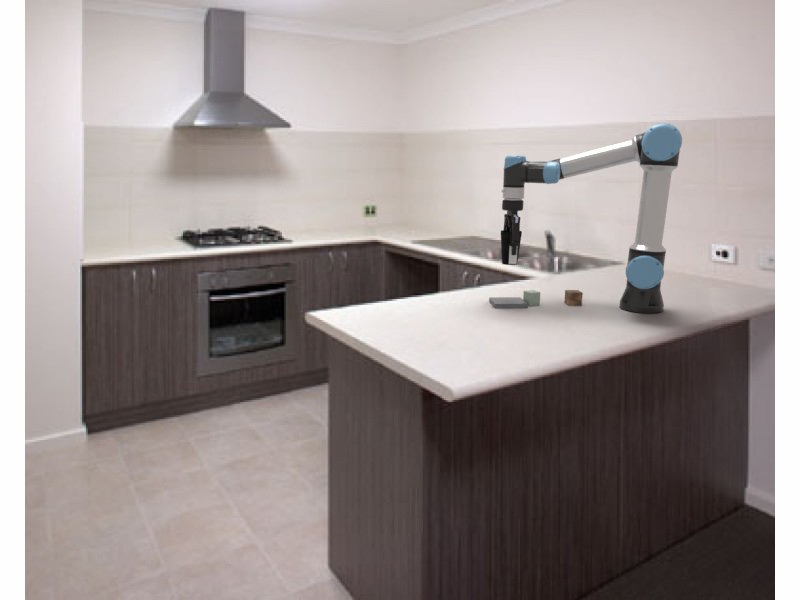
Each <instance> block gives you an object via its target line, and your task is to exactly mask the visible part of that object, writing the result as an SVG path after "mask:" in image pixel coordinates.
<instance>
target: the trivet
mask: <svg viewBox="0 0 800 600" xmlns="http://www.w3.org/2000/svg"><path fill="white" fill-rule="evenodd" d="M488 298H489V299H488V302H489V303H490V304H491V305H492V306H493V308H494V309H528V307H529V306H528V303H527V302H525V301H524V300H523V297H521V296H518V297H517V296H515V297H514V296H512V297H510V296H509V297H508V296H507V297H506V296H505V297H504V296H503V297H502V296H501V297H500V296H499V297H495V296H494V297H491V296H490V297H488Z"/></svg>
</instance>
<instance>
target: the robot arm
mask: <svg viewBox="0 0 800 600" xmlns="http://www.w3.org/2000/svg"><path fill="white" fill-rule="evenodd" d="M682 144H683V137H682V134H681V131H680V130H679V128H677V126H675V125H673V124H671V123H666V122H662V123H656V124H653V125H651V126H650V127H649V128H647V130H646V131H645V132H643V133H640V134H637V135H634V136H633V137H632V138H631V139H628V140H624V141H620V142H617V143H614V144H610V145H605V146H602V147H598V148H594V149H590V150H587V151H583V152H578V153H575V154H572V155H568V156H564V157H560V158H556V159H552V160H548V161H530V160H527V157H526V156H525V155H507V156H505V158H504V165H503V180H502V181H503V186H502V189H501V193H502V198H503V200H502V204H501V205H502V206H501V209H502V211H506V213H505V214H504V219H503V222H504V223H503V230H506V232H511V234H510V242H511V244H509V246H510V248H509V264H516V265H518V262H517V247H518V245H519V244H520V245H521V242H520V231H521V230H520V228H521V216H519V212H520V211H521V212H522V211H523V210H524V200H523V199H524V198H525V184H529V183H530V184H547V185H551V184H558V183H559V181H560V180H564V179H567V178H572V177H575V176H579V175H584V174H588V173H593V172H596V171H600V170H604V169H608V168H612V167H616V166H620V165H625V164H629V163H632V162H633V163H634V162H637V163H639V167H641V169H642V170H643V175H642V184H641V192H640V200H639V208H638V214H637V222H636V223H637V224H636V231H635V236H634V237H635V238H634V243H632V244H631V245H630V246H629V249H628V256H627V265H626V267H625V276H626V285H625V289H624V291H623V293H622V296H621V298H620V300H619V306H618V307H619V308H620V309H621V310H624V311H628V312H632V313H640V314H657V313H658V314H659V313H662V312H663V311H664V310H665V309H664V306H665V303H664V299H663V295H662V290H661V288H662V287H661V286H662V285H661V284H662V279H663V278H664V274H665V271H664V267H665V260H666V254H667V253H666V252H667V250H666V248H665V247H664V246H663V239H664V232H665V224H666V217H667V210H668V202H669V194H670V186H671V179H672V172H673V171H674V170H676V169H677V168H678V166H679V159H680V152H681V148H682Z"/></svg>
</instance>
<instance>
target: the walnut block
mask: <svg viewBox="0 0 800 600" xmlns="http://www.w3.org/2000/svg"><path fill="white" fill-rule="evenodd" d="M563 303H564V304H565V305H567V306H569V307H571V306H573V307H576V306H578V307H579V306H580V307H581V306H583V292H582V291H580V290H579V289H565V290H564V302H563Z"/></svg>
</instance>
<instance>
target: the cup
mask: <svg viewBox="0 0 800 600" xmlns="http://www.w3.org/2000/svg"><path fill="white" fill-rule="evenodd" d="M522 233H523V231H522V230H520V244H519V245H518V247H517V263H518V260H519V256H520V255H519V254H520V253H519V252H520V249H521V241H522ZM510 234H511V232H506V230H504V229H502V230H500V245H501V246H500V247H501V249H500V250H501V264H502V265H506V266H515V265H517V264H509V248H510V246H509V244H511V242H510Z"/></svg>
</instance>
